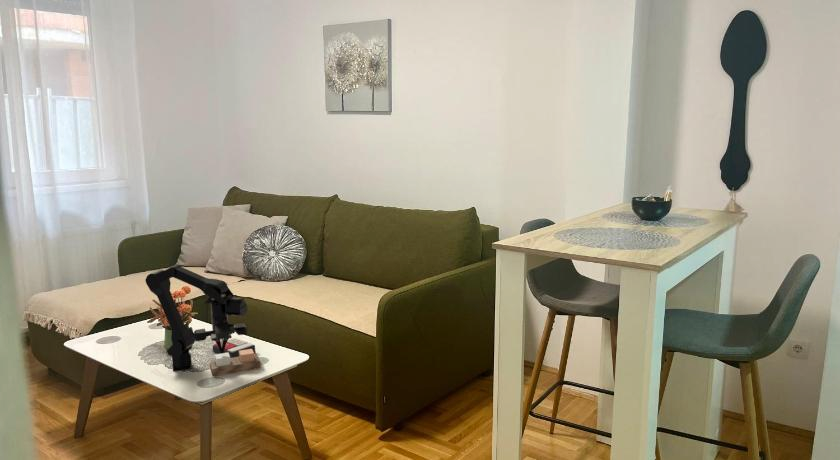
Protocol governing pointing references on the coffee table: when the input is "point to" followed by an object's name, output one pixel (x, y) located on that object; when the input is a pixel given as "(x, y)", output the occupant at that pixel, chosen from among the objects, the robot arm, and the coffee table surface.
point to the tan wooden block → (246, 355)
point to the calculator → (234, 347)
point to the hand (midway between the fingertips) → (222, 353)
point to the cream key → (222, 359)
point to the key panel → (235, 366)
